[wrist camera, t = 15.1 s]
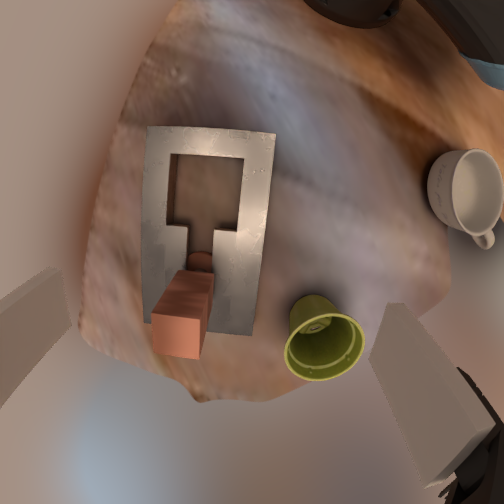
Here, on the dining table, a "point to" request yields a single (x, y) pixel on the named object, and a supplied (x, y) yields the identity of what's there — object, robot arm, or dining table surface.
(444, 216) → the teacup
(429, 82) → the dining table surface
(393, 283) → the dining table surface
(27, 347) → the robot arm
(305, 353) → the plant pot
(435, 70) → the dining table surface
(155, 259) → the slot bracket
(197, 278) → the peg
